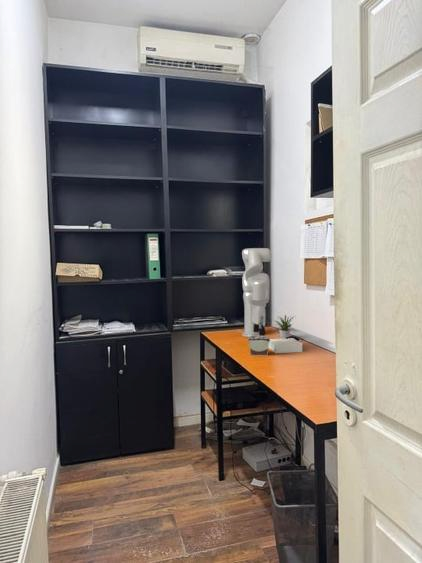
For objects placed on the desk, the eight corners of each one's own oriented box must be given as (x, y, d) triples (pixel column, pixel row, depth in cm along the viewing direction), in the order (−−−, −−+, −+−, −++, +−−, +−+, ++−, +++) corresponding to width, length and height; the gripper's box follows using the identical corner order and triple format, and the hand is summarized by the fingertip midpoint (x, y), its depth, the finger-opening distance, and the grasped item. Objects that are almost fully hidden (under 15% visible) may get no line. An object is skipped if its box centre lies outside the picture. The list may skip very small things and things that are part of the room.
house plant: (290, 335, 259) (290, 311, 257) (301, 340, 246) (301, 315, 244) (271, 337, 254) (271, 313, 253) (281, 342, 241) (281, 316, 240)
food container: (269, 352, 217) (269, 335, 216) (270, 355, 211) (270, 337, 210) (247, 352, 218) (247, 335, 218) (247, 355, 212) (247, 337, 212)
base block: (267, 347, 230) (267, 339, 230) (293, 346, 233) (293, 338, 232) (275, 353, 216) (275, 345, 216) (302, 352, 219) (302, 343, 218)
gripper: (248, 301, 220) (248, 331, 221) (257, 305, 203) (257, 337, 204) (260, 301, 221) (260, 330, 222) (271, 305, 204) (271, 336, 206)
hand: (259, 333), depth 213 cm, fingers open, 9 cm apart
